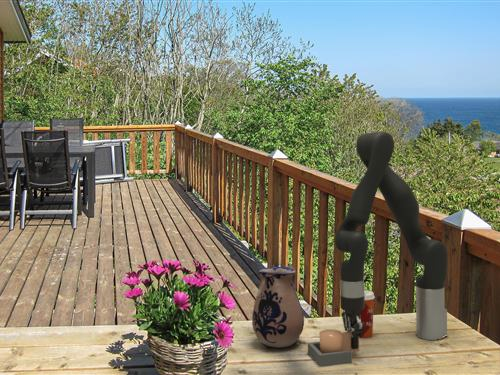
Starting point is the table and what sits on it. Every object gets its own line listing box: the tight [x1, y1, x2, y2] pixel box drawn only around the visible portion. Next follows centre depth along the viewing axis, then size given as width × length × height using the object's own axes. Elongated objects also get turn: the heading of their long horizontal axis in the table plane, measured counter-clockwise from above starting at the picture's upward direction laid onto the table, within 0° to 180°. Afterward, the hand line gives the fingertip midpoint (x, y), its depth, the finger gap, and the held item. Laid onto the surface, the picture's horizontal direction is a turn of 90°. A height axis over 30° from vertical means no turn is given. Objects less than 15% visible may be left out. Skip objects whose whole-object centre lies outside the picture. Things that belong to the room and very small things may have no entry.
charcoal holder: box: [307, 341, 353, 368], centre depth 185 cm, size 10×11×4 cm
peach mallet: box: [318, 328, 360, 354], centre depth 185 cm, size 12×7×8 cm, turn 103°
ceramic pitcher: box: [251, 265, 305, 349], centre depth 200 cm, size 18×21×25 cm
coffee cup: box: [359, 289, 375, 339], centre depth 204 cm, size 8×8×15 cm
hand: (353, 347), depth 186 cm, fingers closed
